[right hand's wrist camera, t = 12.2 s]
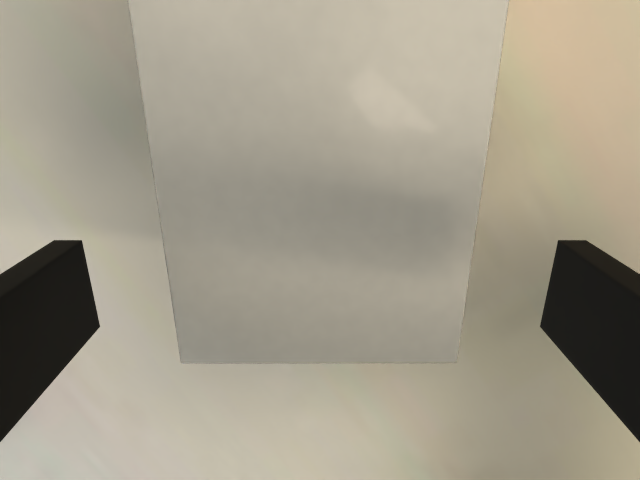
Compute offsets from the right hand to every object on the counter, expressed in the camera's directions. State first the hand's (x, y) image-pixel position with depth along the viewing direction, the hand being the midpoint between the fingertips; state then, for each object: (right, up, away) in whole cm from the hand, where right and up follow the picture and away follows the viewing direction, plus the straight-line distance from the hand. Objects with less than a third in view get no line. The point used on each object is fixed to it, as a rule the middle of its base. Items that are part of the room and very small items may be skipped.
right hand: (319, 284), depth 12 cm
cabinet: (0, +9, +10) cm, 13 cm away
